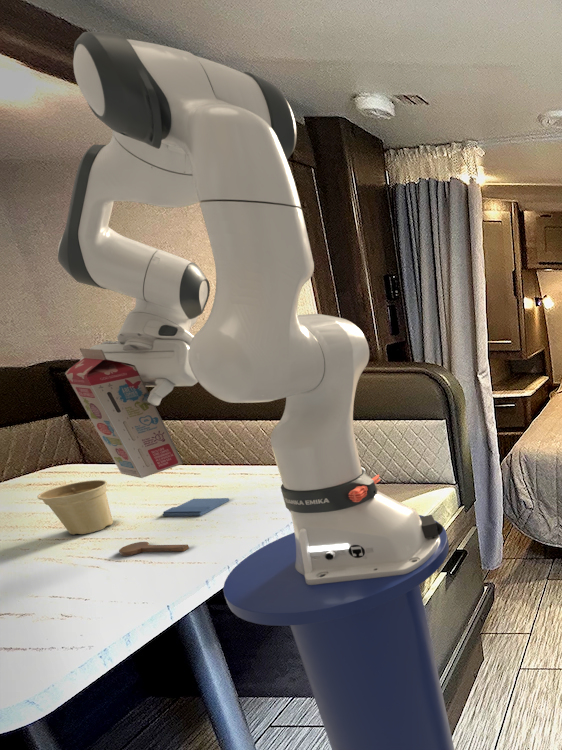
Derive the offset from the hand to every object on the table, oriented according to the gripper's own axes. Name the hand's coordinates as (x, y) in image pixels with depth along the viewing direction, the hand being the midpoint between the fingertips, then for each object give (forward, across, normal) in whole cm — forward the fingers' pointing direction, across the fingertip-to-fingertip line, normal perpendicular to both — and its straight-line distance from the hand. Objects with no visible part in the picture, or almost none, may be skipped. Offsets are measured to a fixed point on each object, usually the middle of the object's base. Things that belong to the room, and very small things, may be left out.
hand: (124, 404), depth 88 cm
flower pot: (+16, -20, +21) cm, 33 cm away
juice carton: (+8, 0, +9) cm, 12 cm away
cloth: (+10, -6, +27) cm, 29 cm away
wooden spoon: (+23, +2, +14) cm, 27 cm away
